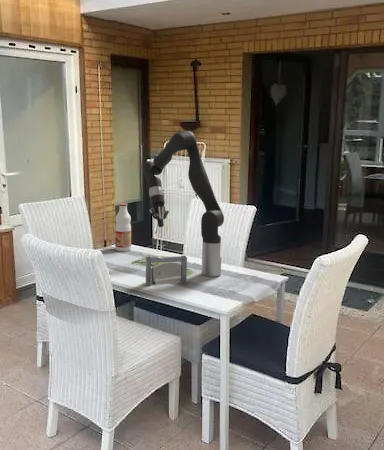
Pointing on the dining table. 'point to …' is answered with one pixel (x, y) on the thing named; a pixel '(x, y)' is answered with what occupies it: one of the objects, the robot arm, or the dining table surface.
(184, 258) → the bar
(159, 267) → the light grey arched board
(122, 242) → the fruit juice
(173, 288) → the dining table surface
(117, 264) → the dining table surface
